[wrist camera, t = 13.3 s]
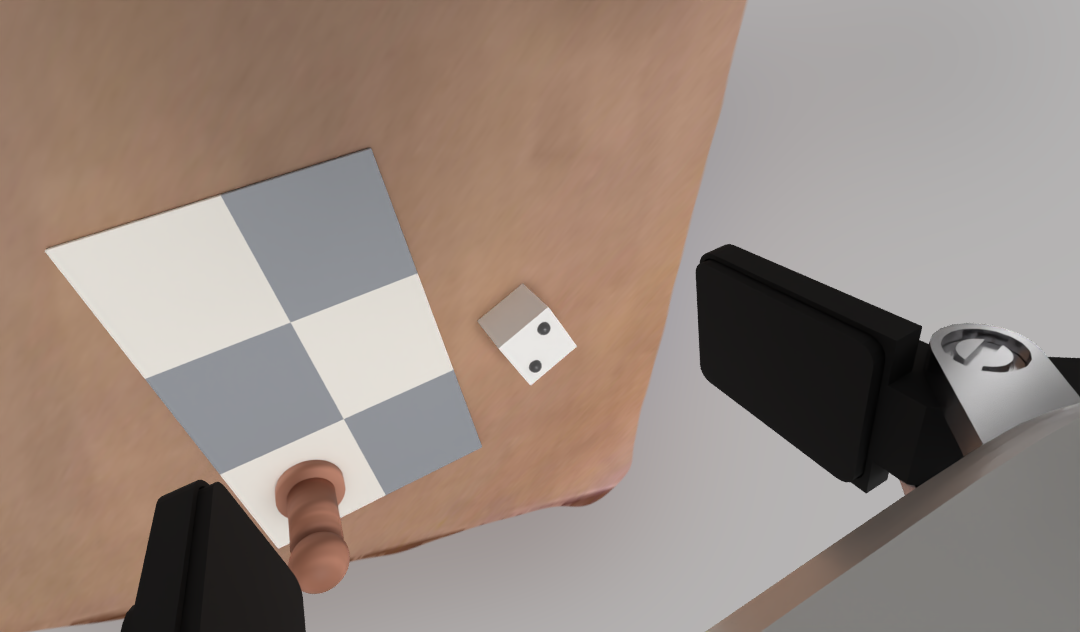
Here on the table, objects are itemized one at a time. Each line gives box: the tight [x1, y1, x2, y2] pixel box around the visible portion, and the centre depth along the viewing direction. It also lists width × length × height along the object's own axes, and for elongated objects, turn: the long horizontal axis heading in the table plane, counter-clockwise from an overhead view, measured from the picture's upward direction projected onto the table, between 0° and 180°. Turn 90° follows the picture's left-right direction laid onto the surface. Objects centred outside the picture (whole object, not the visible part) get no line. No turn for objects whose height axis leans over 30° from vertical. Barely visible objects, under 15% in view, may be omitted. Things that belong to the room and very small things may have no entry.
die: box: [477, 283, 577, 385], centre depth 44 cm, size 5×5×6 cm
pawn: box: [275, 460, 350, 594], centre depth 40 cm, size 5×5×10 cm
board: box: [45, 148, 482, 549], centre depth 40 cm, size 19×28×1 cm, turn 13°
